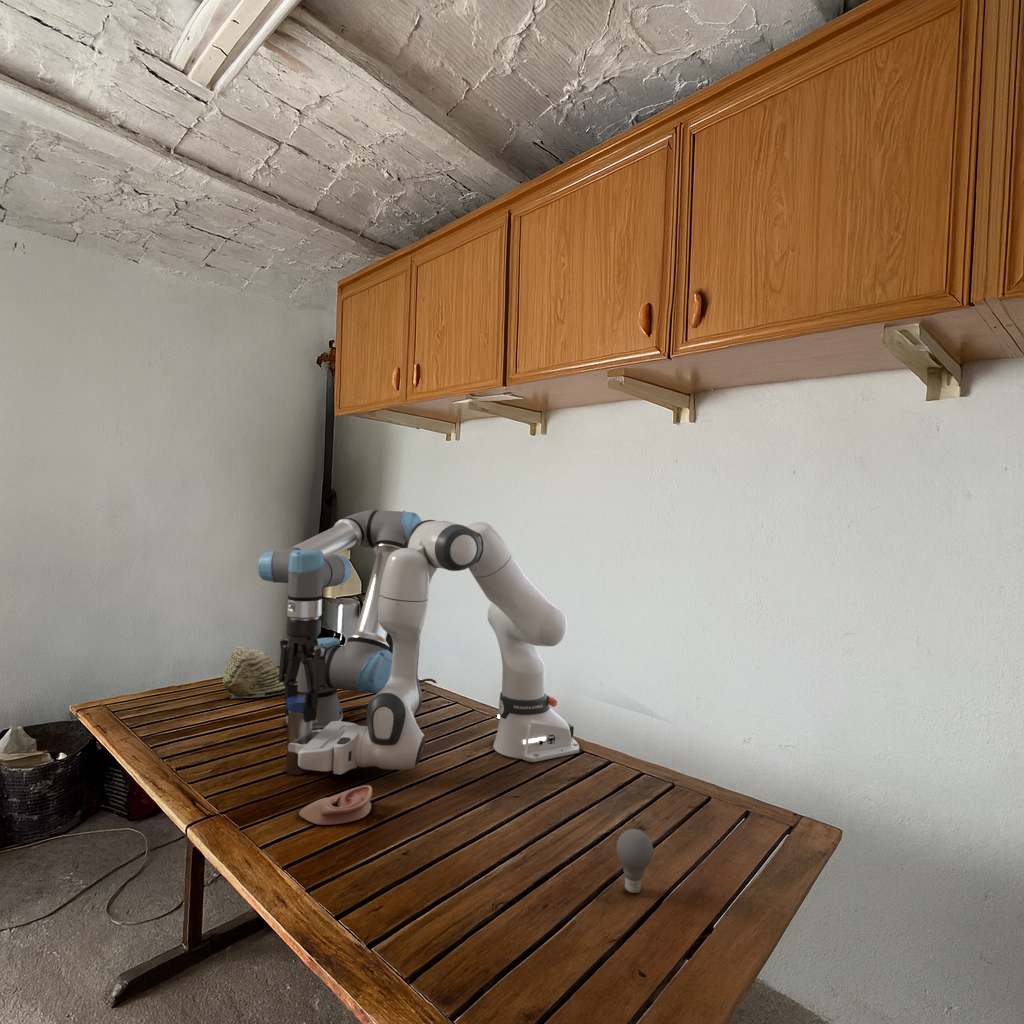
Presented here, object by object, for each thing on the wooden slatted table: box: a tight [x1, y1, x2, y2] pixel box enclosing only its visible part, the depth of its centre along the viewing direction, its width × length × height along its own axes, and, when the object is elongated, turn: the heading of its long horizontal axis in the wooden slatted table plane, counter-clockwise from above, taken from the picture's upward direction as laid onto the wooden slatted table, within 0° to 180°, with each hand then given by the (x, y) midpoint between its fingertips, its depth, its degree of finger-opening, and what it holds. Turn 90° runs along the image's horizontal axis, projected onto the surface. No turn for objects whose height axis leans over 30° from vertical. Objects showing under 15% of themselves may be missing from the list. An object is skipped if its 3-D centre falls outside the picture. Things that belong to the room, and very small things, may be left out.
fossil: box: [222, 646, 285, 699], centre depth 198 cm, size 9×18×15 cm, turn 132°
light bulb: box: [615, 828, 654, 894], centre depth 106 cm, size 6×6×10 cm
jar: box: [285, 710, 313, 776], centre depth 146 cm, size 5×5×16 cm
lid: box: [286, 694, 305, 712], centre depth 146 cm, size 6×6×2 cm
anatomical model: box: [298, 784, 373, 826], centre depth 127 cm, size 13×4×12 cm
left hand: (300, 717), depth 146 cm, fingers closed on lid, 6 cm apart
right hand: (295, 740), depth 146 cm, fingers closed on jar, 5 cm apart
